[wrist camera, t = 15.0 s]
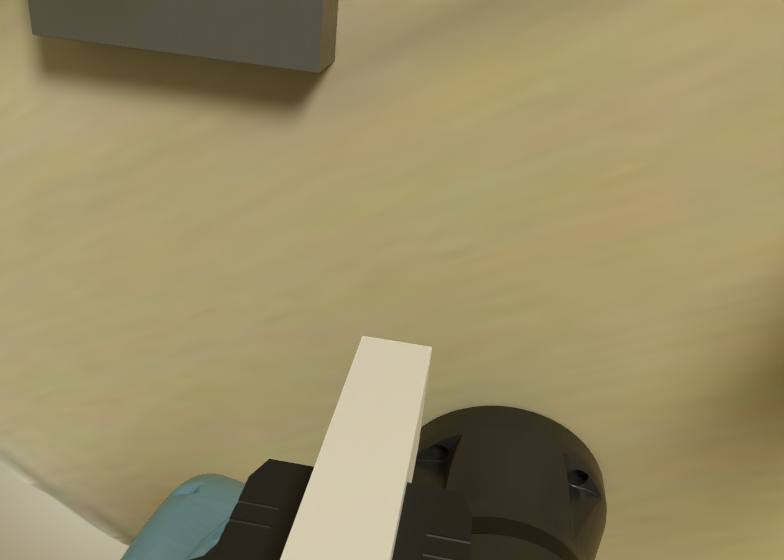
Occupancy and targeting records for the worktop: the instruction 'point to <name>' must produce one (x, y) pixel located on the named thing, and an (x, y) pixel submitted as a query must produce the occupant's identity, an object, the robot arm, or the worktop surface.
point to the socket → (201, 28)
